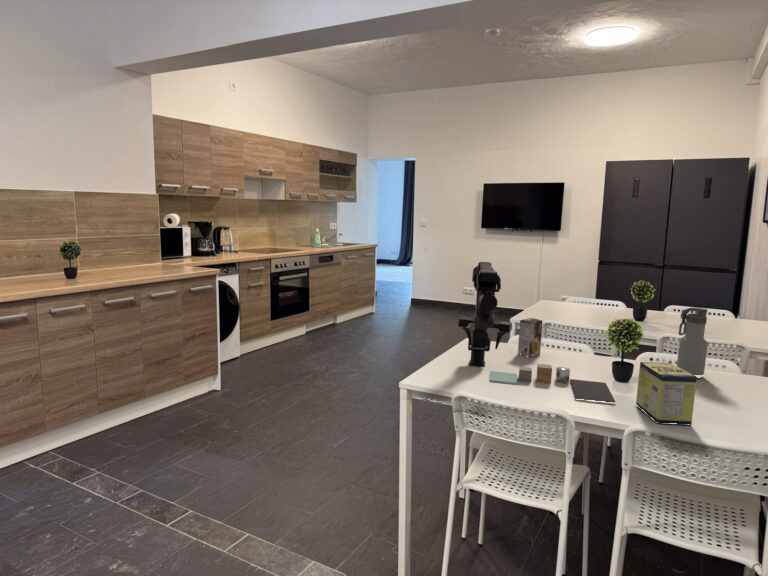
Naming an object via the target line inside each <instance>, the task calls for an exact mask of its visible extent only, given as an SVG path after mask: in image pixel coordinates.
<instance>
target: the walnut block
mask: <svg viewBox="0 0 768 576" xmlns="http://www.w3.org/2000/svg"><path fill="white" fill-rule="evenodd" d="M536 365H537V367H536V378H537V379H536V382H537V383H540V382H544V383H543V384H549V383H551V384H552V375H553V367H552V365H551V364H548V363H537V364H536Z"/></svg>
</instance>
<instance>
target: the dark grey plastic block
mask: <svg viewBox="0 0 768 576" xmlns="http://www.w3.org/2000/svg"><path fill="white" fill-rule="evenodd" d="M518 370H519V371H518V381H519V382H524V383H525V382H526V383H532V378H533V377H532V376H533V374H532V373H533V369H532V367H529V366H528V367H527V366H519V367H518Z"/></svg>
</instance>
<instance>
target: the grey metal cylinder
mask: <svg viewBox="0 0 768 576" xmlns="http://www.w3.org/2000/svg"><path fill="white" fill-rule="evenodd" d="M570 375H571V368H568V367H565V366H557V367H556V369H555V379H554V380H556V381H558V382H557V383H559V382H562V383H561V384H568V383H567V382H569V383H570V379H571V378H570ZM556 381H555V382H556Z"/></svg>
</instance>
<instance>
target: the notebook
mask: <svg viewBox="0 0 768 576" xmlns="http://www.w3.org/2000/svg"><path fill="white" fill-rule="evenodd" d="M570 382H571V383H570ZM569 383H570V386H571V385H572V387H571V389H573V390H572V393H573V392H574V393H573V396H574V395H575V396H574V398H576V399H584V400H595V401H605V402H613V403H614V402H615V403H616V400H615V398H614V395H612V392H611V390H610V387H608V385H607V383H606V382H601V381H592V380H585V379H584V380H581V379H573V378H569Z"/></svg>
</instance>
